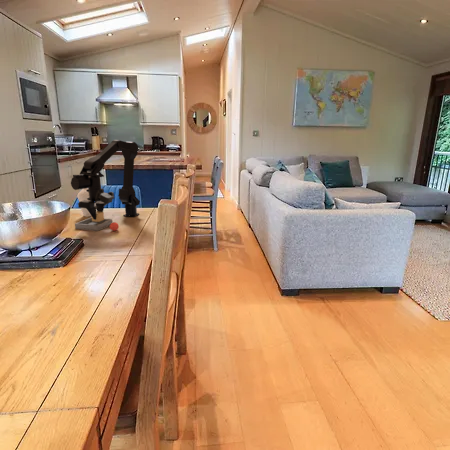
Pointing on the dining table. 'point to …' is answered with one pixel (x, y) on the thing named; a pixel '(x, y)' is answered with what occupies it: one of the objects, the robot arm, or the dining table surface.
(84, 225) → the dish
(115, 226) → the tomato
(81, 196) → the soft serve ice cream cone
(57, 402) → the dining table surface
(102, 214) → the block
